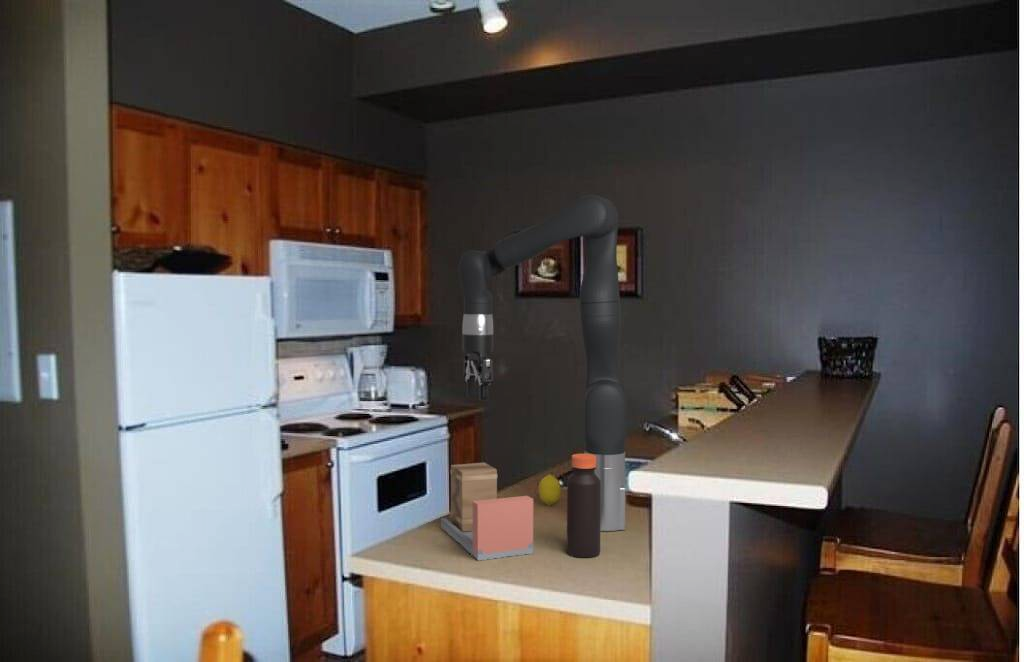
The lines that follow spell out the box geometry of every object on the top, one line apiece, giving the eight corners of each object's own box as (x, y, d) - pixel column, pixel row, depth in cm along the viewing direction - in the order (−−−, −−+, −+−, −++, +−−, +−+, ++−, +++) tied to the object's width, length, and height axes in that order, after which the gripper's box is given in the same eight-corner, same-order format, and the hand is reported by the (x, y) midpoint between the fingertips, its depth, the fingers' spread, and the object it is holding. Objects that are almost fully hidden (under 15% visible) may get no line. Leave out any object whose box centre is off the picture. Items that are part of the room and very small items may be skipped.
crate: (450, 522, 175) (450, 465, 175) (484, 518, 178) (484, 462, 178) (462, 531, 168) (462, 472, 167) (497, 527, 171) (497, 469, 170)
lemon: (558, 509, 191) (558, 477, 191) (536, 508, 193) (536, 476, 192) (561, 503, 197) (561, 472, 197) (540, 502, 198) (540, 471, 198)
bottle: (565, 557, 155) (566, 458, 154) (568, 547, 162) (568, 452, 161) (599, 559, 154) (600, 459, 153) (600, 548, 161) (601, 453, 160)
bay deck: (441, 528, 175) (441, 518, 175) (490, 522, 180) (490, 513, 180) (477, 561, 153) (477, 550, 153) (533, 553, 157) (533, 542, 157)
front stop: (472, 550, 156) (472, 501, 155) (527, 543, 160) (527, 495, 160) (477, 554, 153) (477, 504, 152) (533, 547, 157) (533, 499, 157)
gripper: (503, 333, 184) (502, 401, 185) (481, 331, 197) (481, 394, 198) (473, 334, 181) (473, 403, 182) (453, 331, 194) (453, 396, 195)
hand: (477, 398), depth 190 cm, fingers open, 8 cm apart
